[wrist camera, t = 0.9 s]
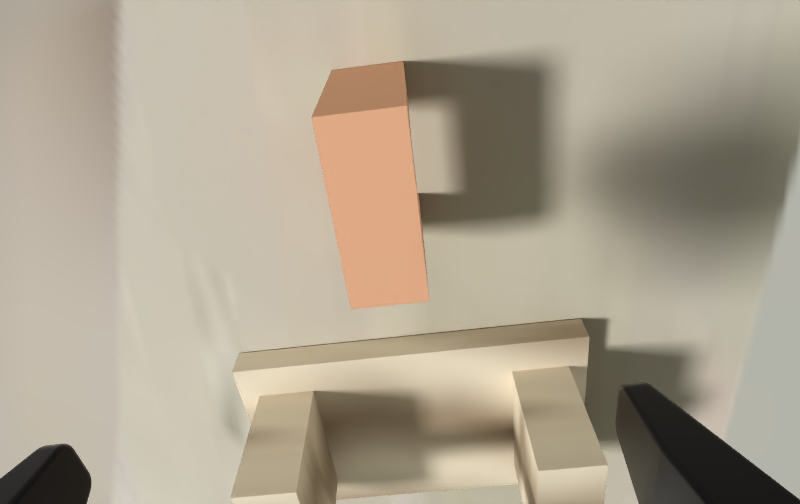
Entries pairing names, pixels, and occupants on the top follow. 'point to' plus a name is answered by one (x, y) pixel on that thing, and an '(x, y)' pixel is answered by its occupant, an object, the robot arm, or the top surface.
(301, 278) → the top surface
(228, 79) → the top surface
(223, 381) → the top surface
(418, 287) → the pink block
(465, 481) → the cream rod stand
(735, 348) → the top surface
